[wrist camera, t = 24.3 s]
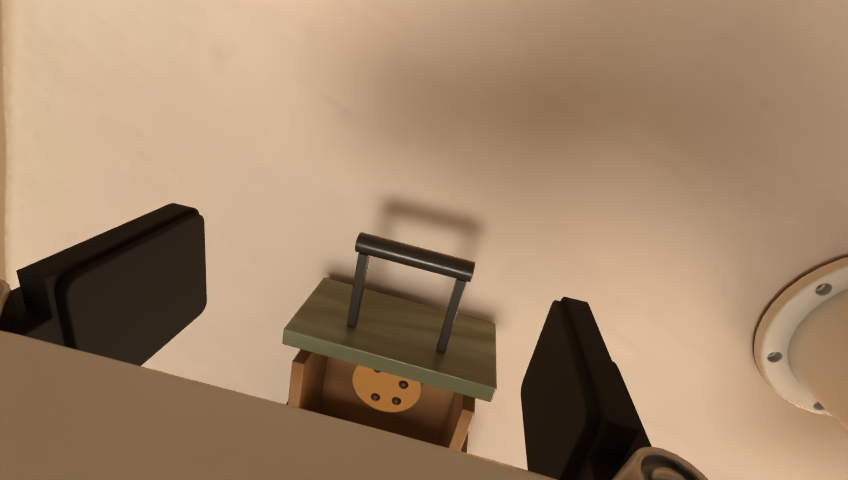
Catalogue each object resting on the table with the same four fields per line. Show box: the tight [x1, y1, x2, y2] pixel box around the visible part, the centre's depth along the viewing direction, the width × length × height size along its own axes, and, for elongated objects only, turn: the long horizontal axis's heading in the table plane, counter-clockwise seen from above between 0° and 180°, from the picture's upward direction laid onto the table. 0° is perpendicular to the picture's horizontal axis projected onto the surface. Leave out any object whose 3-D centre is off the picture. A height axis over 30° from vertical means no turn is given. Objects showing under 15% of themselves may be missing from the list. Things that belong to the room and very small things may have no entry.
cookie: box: [352, 365, 423, 412], centre depth 31 cm, size 5×5×2 cm
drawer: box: [283, 232, 497, 451], centre depth 30 cm, size 21×13×7 cm, turn 167°
